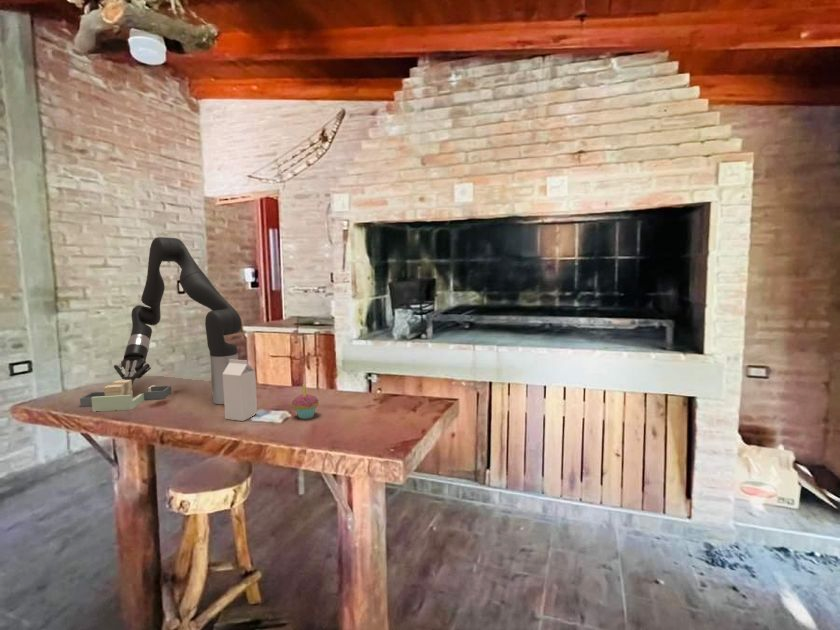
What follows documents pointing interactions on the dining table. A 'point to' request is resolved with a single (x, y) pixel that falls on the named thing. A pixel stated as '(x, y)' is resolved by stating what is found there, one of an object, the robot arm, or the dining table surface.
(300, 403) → the cupcake
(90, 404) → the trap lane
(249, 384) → the milk carton
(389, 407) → the dining table surface
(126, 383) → the beech block
